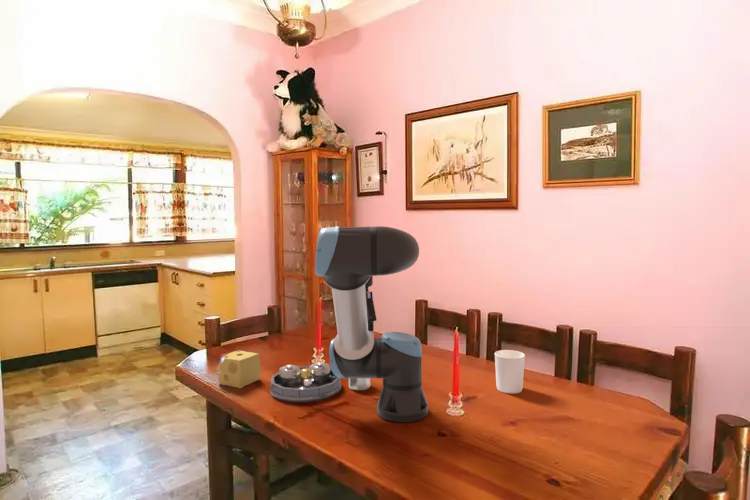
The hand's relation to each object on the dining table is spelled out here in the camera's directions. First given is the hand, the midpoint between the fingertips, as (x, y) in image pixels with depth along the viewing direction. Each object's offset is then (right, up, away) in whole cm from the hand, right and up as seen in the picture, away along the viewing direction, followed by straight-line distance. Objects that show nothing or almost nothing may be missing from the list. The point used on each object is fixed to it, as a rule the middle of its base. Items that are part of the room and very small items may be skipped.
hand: (362, 333), depth 164 cm
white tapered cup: (+49, -17, -8) cm, 53 cm away
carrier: (-19, -18, -5) cm, 27 cm away
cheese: (-44, -18, +2) cm, 47 cm away
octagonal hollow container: (-1, -18, -4) cm, 18 cm away
